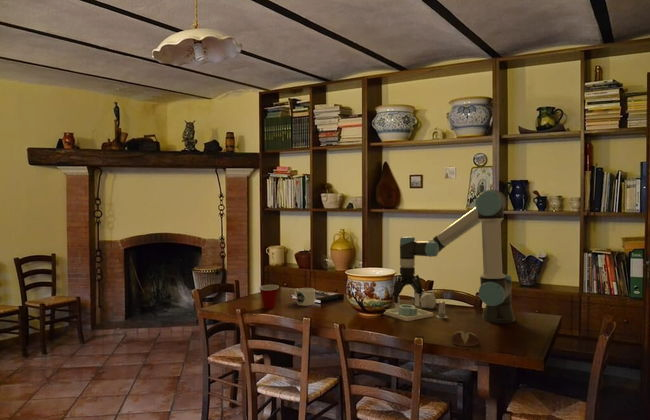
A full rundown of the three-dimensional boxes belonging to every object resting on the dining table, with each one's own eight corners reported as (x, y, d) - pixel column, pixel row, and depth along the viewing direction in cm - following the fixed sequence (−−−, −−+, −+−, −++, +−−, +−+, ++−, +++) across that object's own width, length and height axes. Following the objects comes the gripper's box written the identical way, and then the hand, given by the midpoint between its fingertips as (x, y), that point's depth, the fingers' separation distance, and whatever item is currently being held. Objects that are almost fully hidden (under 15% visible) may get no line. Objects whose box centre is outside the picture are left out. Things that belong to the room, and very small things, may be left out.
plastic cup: (254, 308, 278) (254, 286, 278) (267, 305, 288) (267, 283, 287) (271, 311, 273) (271, 289, 272) (282, 307, 282) (282, 285, 281)
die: (438, 308, 284) (430, 292, 289) (440, 303, 276) (431, 287, 281) (424, 314, 283) (416, 298, 288) (425, 309, 275) (417, 293, 280)
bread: (450, 345, 215) (450, 334, 214) (454, 338, 225) (454, 327, 225) (478, 349, 210) (478, 336, 210) (480, 341, 221) (480, 329, 221)
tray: (433, 316, 262) (433, 312, 262) (406, 321, 252) (406, 317, 252) (409, 309, 277) (409, 306, 277) (383, 314, 267) (383, 310, 267)
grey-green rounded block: (395, 313, 267) (395, 305, 267) (407, 311, 271) (407, 303, 271) (409, 317, 258) (409, 309, 258) (421, 315, 262) (421, 307, 262)
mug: (318, 303, 293) (318, 289, 293) (308, 306, 284) (308, 292, 284) (299, 300, 300) (299, 286, 300) (288, 303, 291) (288, 289, 291)
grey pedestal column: (450, 317, 260) (450, 302, 260) (441, 319, 257) (442, 303, 257) (441, 315, 265) (441, 300, 265) (433, 316, 262) (433, 301, 262)
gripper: (420, 263, 274) (420, 303, 275) (383, 267, 261) (383, 309, 262) (430, 265, 268) (430, 305, 269) (393, 269, 255) (393, 312, 255)
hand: (407, 307), depth 265 cm, fingers open, 13 cm apart
